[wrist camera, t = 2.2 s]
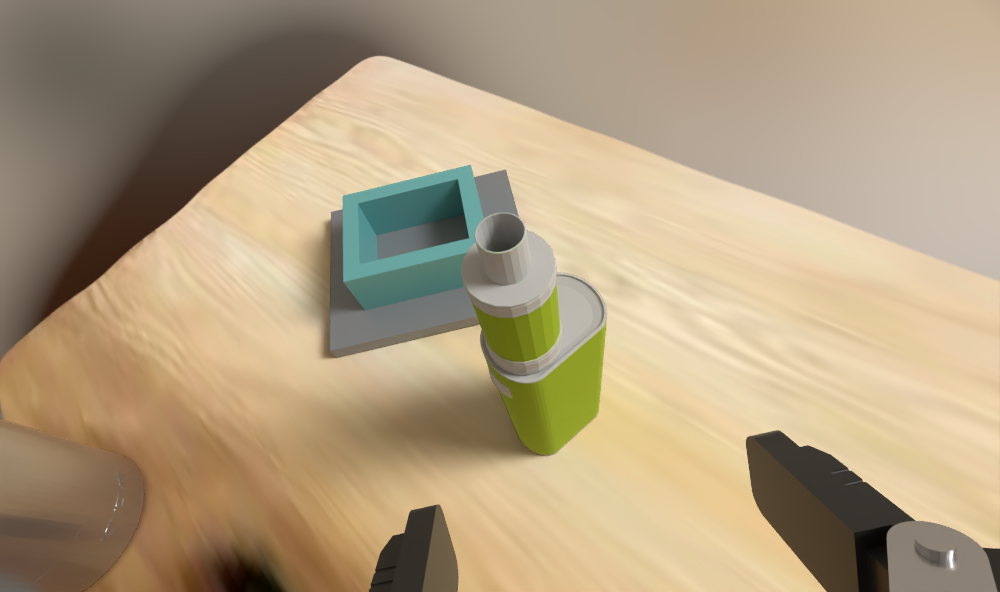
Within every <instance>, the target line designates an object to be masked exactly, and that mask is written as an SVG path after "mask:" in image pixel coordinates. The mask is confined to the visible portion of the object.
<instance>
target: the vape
mask: <svg viewBox="0 0 1000 592" xmlns="http://www.w3.org/2000/svg"><path fill="white" fill-rule="evenodd" d="M474 237H475V243H474V244H473V245H472V246H471V247H470V248H469V250H468V252H467V254H466V255H465V257H464V259H463V263H462V268H461V275H462V280H463V284H464V287H465V290H466V292H467V295H468V296H469V298H470V300H471V302H472V305H473V307H474V310H475V313H476V315H477V318H478V320H479V323H480V326H481V328H482V331H481V335H480V342H481V348H482V351H483V353H484V356H485V358H486V361H487V364H488V368H489V373H490V376H491V379H492V381H493V383H494V384H495V386H496V387H497V388H498V389H499V392H500V394H501V397H502V399H503V401H504V404H505V406H506V408H507V411H508V413H509V416H510V418H511V420H512V423H513V425H514V428H515V430H516V432H517V435H518V437H519V438H520V440H521V441H522V443H523V444H524V445H525V446H526V447H527V448H528V449H530V450H531V451H533V452H534V453H537V454H539V455H544V456H549V455H553V454H555V453H557V452H558V451H559V450H560V449H561V448H563V447H564V446H565V445H566V444H567V443H568V442H569V441H570V440H571V439H572V438H574V437H575V436H576V435H577V434H578V433H579V432H580V431H581V430H582V429H583V428H585V427H586V426H587V425H588V424H589V423H590V422H591V421H592V420H593V419H594V418H596V416H597V414H598V411H599V401H600V390H601V378H602V367H603V355H604V343H605V332H606V320H607V309H606V305H605V302H604V300H603V298H602V297H601V295H600V294H599V292H598V291H597V290H596V289H595V288H594V287H593V286H592V285H591V284H590V283H588V282H587V281H585V280H584V279H582V278H580V277H578V276H575V275H572V274H568V273H557V271H556V260H555V257H554V254H553V251H552V248H551V247H550V246H549V245H548V243H547V242H546V241H545V240H544V239H543V238H541V237H540V236H538V235H536V234H535V233H533V232H530V231H527V230H526V227H525V224H524V222H523V221H522V220H521V218H519V217H518V216H516V215H514V214H511V213H495V214H492V215H489V216H488V217H486V218H484V219H483V220H482V221H481V222H480V223H479V224H478V226H477V227H476V229H475V234H474Z"/></svg>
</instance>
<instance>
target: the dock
mask: <svg viewBox="0 0 1000 592" xmlns="http://www.w3.org/2000/svg"><path fill="white" fill-rule="evenodd" d="M495 213H511V214H514V215H516V216H518V213H517V209H516V205H515V202H514V198H513V194H512V191H511V187H510V183H509V180H508V176H507V172H506V170H502V171H498V172H494V173H490V174H486V175H482V176H478V177H474V175H473V171H472V168H471V165H468V166H464V167H460V168H456V169H451V170H447V171H443V172H439V173H435V174H431V175H427V176H423V177H419V178H415V179H411V180H406V181H402V182H398V183H394V184H390V185H386V186H382V187H378V188H374V189H370V190H365V191H361V192H357V193H353V194H349V195H345V196H343V209H342V210H338V211H334V212H331V276H330V352H331V353H332V354H333V355H334V356H335V357H336V358H338V357H342V356H346V355H351V354H355V353H359V352H363V351H368V350H372V349H376V348H380V347H385V346H389V345H393V344H397V343H402V342H406V341H410V340H414V339H419V338H423V337H427V336H431V335H436V334H440V333H444V332H448V331H453V330H457V329H461V328H466V327H470V326H474V325H478V324H480V323H479V320H478V318H477V315H476V313H475V310H474V307H473V305H472V302H471V300H470V298H469V296H468V295H467V292H466V290H465V287H464V284H463V280H462V275H461V268H462V263H463V259H464V257H465V255H466V254H467V252H468V250H469V248H470V247H471V246H472V245H473V244H474V243H475V237H474V234H475V229H476V227H477V226H478V224H479V223H480V222H481V221H482V220H483V219H484V218H486V217H488V216H489V215H492V214H495ZM518 217H519V216H518Z"/></svg>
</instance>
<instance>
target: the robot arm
mask: <svg viewBox="0 0 1000 592" xmlns="http://www.w3.org/2000/svg"><path fill="white" fill-rule="evenodd" d="M746 449H747V456H748V464H749V471H750V479H751V486H752V492H753V496H754V499H755V501H756V504H757V506H758V508H759V510H760V511H761V513H762V515H763V516H764V517H765V518H766V520H767V521H768V522H769V523H770V524H771V526H772V527H773V528H774V529H775V530H776V532H777V533H778V534H779V535H780V536H781V538H782V539H783V540H784V541H785V542H786V543H787V545H788V546H789V547H790V548H791V549H792V551H793V552H794V553H795V554H796V555H797V557H798V558H799V559H800V560H801V561H802V563H803V564H804V565H805V566H806V567H807V569H808V570H809V571H810V572H811V573H812V575H813V576H814V577H815V578H816V579H817V580H818V582H819V583H820V584H821V585H822V586H823V588H824V589H825V590H826V591H827V592H1000V549H992V548H982V547H981V546H980V545H979V544H978V543H976V542H975V541H974V540H973V539H971V538H970V537H968V536H966V535H965V534H963V533H961V532H959V531H957V530H954V529H952V528H949V527H946V526H943V525H940V524H936V523H931V522H924V521H915V520H914V519H913V518H911V517H910V516H909V515H907V514H906V513H905V512H904V511H902V510H901V509H900V508H898V507H897V506H896V505H895V504H893V503H892V502H891V501H889V500H888V499H887V498H886V497H884V496H883V495H882V494H880V493H879V492H878V491H877V490H875V489H874V488H873V487H871V486H870V485H869V484H868V483H866V482H863V481H862V479H861V478H860V477H859V476H857V475H856V474H855V473H853V472H852V471H849V470H848V468H847V467H846V466H844V465H843V464H842V463H841V462H839V461H838V460H837V459H835V458H834V457H833V456H832V455H830V454H827V453H825V452H823V451H820V450H818V449H815V448H813V447H811V446H803V447H799V446H798V445H797V444H796V443H794V442H793V441H792V440H791V439H790V438H788V437H787V436H786V435H785V434H784V433H782V432H781V431H778V430H776V431H772V432H767V433H763V434H758V435H754V436H749V437H747V439H746ZM143 502H144V484H143V479H142V476H141V473H140V471H139V469H138V468H137V466H136V465H135V464H134V463H133V461H131V460H129V459H128V458H126V457H125V456H122V455H119V454H115V453H112V452H109V451H105V450H102V449H99V448H95V447H92V446H89V445H85V444H82V443H79V442H76V441H73V440H70V439H66V438H63V437H60V436H56V435H53V434H50V433H46V432H43V431H40V430H36V429H33V428H29V427H26V426H23V425H19V424H16V423H13V422H9V421H6V420H2V419H0V592H82V591H83V590H85V589H86V588H88V587H89V586H91V585H92V584H94V583H95V582H96V581H97V580H98V579H99V578H100V577H102V576H103V575H104V574H105V573H106V572H107V571H108V570H109V569H110V568H111V567H112V565H113V564H114V563H115V562H116V561H117V559H118V558H119V557H120V556H121V554H122V553H123V551H124V550H125V548H126V546H127V545H128V543H129V542H130V540H131V538H132V536H133V534H134V532H135V530H136V527H137V525H138V523H139V519H140V516H141V512H142V509H143ZM375 571H376V573H375V574H374V576H373V579H372V583H371V588H370V589H369V592H457V591H458V566H457V560H456V555H455V551H454V548H453V545H452V541H451V538H450V534H449V531H448V528H447V524H446V521H445V518H444V514H443V511H442V508H441V506H440V505H439V504H438V505H433V506H429V507H424V508H420V509H415V510H411V511H410V513H409V517H408V521H407V525H406V529H405V533H403V534H399V535H394V536H392V538H391V539H390V540H389V542H388V543H387V544H386V546H385V547H384V549H383V550H382V551H381V553H380V556H379V559H378V563H377V566H376V569H375Z"/></svg>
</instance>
